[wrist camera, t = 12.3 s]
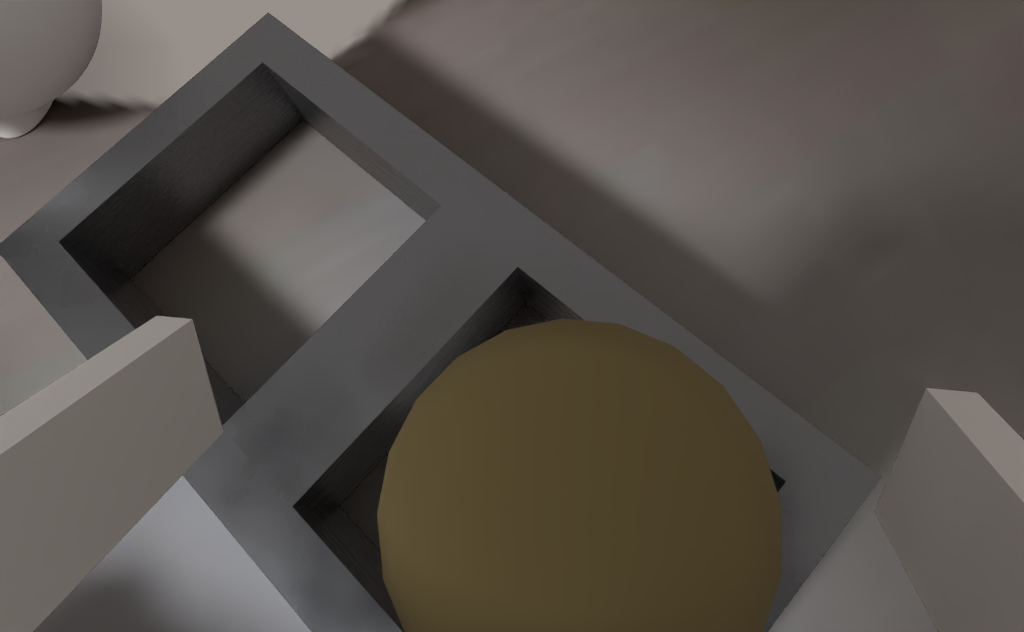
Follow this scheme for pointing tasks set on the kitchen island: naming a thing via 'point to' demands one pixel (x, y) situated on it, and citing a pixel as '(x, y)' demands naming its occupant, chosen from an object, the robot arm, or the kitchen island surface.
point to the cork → (578, 492)
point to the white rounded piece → (42, 56)
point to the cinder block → (362, 319)
